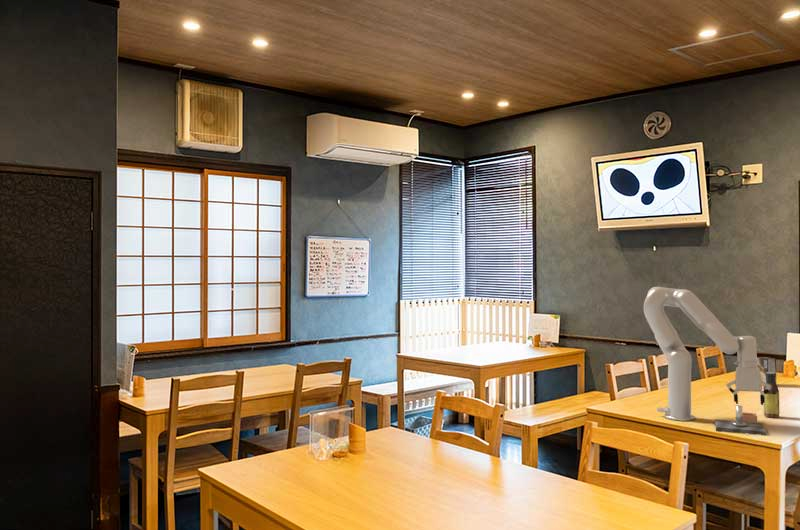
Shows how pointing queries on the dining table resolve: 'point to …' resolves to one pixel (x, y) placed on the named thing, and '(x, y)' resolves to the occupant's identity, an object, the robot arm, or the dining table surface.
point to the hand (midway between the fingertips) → (749, 403)
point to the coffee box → (766, 366)
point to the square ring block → (749, 417)
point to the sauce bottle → (771, 397)
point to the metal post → (739, 418)
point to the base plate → (750, 429)
